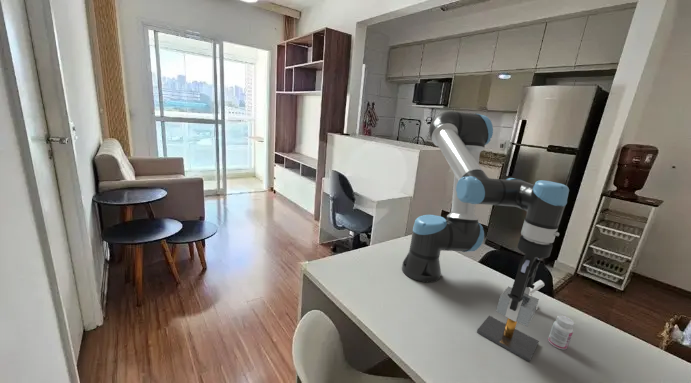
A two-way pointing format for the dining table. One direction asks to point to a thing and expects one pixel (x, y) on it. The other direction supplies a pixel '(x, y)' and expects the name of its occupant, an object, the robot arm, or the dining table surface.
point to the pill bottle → (561, 332)
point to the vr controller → (536, 288)
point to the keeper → (508, 337)
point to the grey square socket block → (525, 310)
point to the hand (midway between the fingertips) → (515, 312)
